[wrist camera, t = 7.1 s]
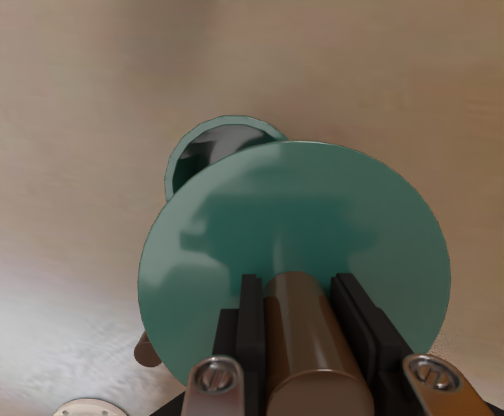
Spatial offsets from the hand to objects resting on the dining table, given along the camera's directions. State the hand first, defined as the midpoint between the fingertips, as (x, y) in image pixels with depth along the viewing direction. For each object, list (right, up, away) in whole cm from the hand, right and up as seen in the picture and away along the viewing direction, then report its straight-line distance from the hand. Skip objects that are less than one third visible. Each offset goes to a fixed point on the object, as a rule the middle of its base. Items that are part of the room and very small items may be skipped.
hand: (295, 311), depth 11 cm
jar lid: (0, 0, +1) cm, 1 cm away
